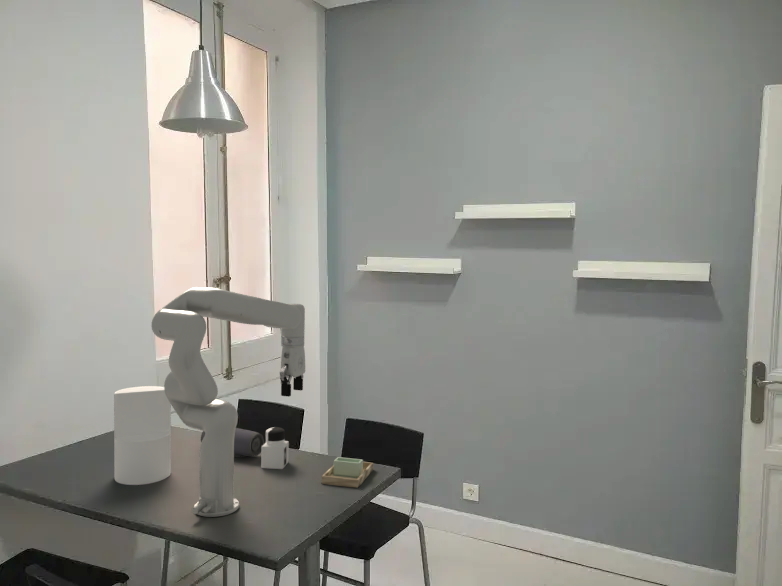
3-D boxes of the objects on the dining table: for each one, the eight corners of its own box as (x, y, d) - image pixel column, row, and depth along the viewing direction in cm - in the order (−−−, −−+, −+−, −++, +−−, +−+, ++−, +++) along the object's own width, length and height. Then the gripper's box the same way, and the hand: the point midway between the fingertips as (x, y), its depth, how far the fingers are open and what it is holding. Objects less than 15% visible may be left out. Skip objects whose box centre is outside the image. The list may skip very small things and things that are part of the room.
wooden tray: (358, 487, 193) (358, 480, 193) (321, 483, 196) (321, 476, 196) (373, 469, 210) (373, 462, 210) (339, 466, 213) (339, 459, 213)
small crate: (359, 478, 200) (359, 463, 200) (333, 475, 202) (333, 460, 202) (362, 474, 204) (363, 459, 204) (337, 471, 206) (337, 457, 206)
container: (288, 462, 216) (289, 426, 216) (282, 469, 209) (283, 432, 208) (267, 461, 217) (267, 425, 217) (260, 468, 210) (261, 431, 209)
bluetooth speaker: (199, 453, 224) (199, 426, 224) (216, 446, 233) (216, 421, 232) (248, 463, 215) (249, 435, 214) (264, 455, 223) (265, 428, 223)
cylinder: (113, 470, 204) (112, 388, 203) (167, 463, 212) (167, 384, 211) (116, 488, 189) (115, 399, 188) (174, 480, 197) (174, 394, 196)
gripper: (292, 345, 190) (292, 399, 191) (313, 338, 207) (312, 388, 208) (270, 344, 192) (270, 397, 193) (292, 337, 209) (292, 387, 210)
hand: (292, 392), depth 200 cm, fingers open, 9 cm apart
